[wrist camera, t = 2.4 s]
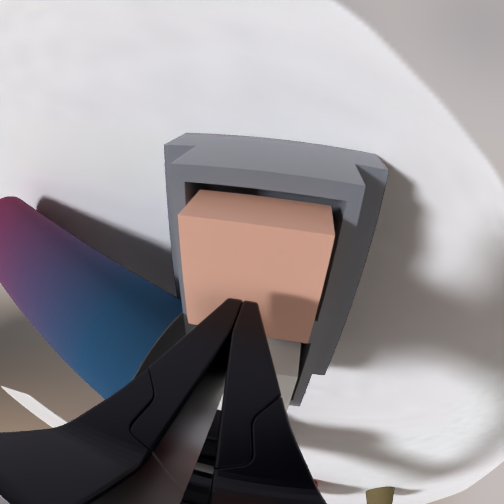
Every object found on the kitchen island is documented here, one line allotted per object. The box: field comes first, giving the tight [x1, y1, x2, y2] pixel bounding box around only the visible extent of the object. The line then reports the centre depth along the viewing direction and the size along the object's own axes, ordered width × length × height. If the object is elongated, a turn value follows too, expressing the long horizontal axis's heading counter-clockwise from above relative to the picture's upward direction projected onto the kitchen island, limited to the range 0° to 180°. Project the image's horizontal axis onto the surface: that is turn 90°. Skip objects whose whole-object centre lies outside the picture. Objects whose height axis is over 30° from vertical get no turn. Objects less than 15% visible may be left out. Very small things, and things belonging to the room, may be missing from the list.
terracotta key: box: [178, 190, 335, 343], centre depth 10 cm, size 4×4×2 cm
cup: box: [0, 197, 186, 400], centre depth 15 cm, size 7×7×15 cm
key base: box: [164, 133, 389, 406], centre depth 15 cm, size 13×9×5 cm
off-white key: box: [217, 338, 301, 412], centre depth 14 cm, size 4×4×2 cm
